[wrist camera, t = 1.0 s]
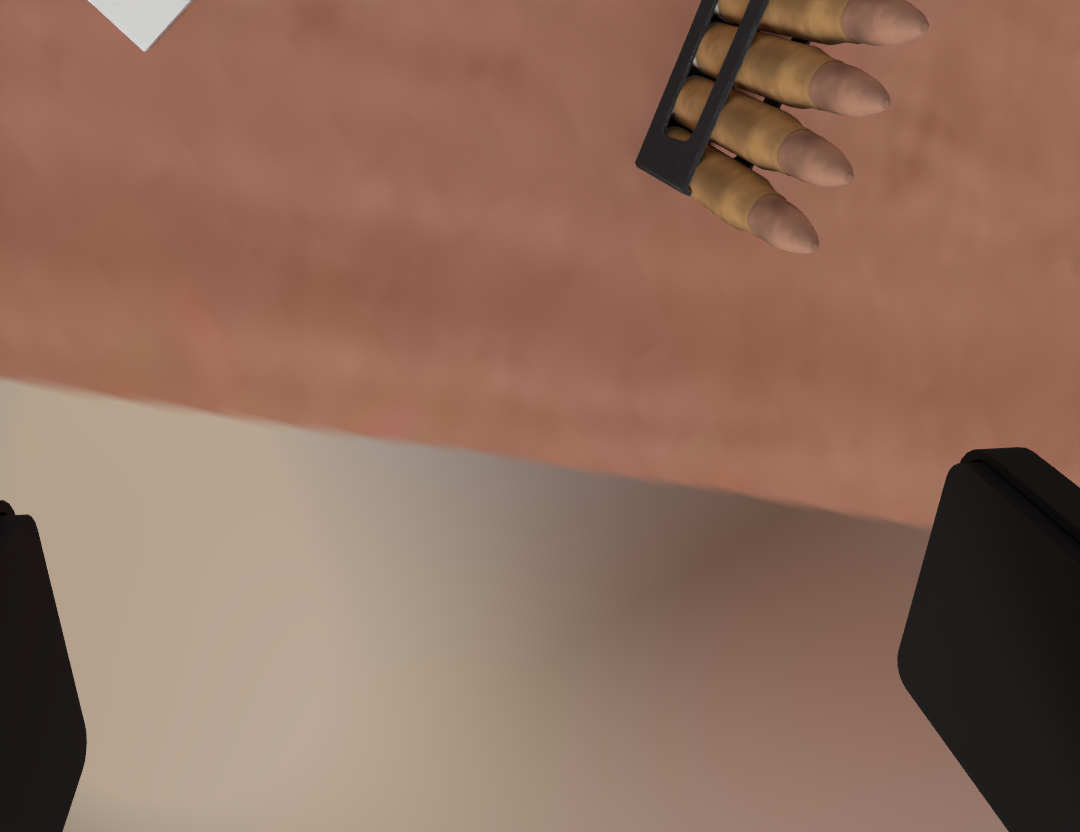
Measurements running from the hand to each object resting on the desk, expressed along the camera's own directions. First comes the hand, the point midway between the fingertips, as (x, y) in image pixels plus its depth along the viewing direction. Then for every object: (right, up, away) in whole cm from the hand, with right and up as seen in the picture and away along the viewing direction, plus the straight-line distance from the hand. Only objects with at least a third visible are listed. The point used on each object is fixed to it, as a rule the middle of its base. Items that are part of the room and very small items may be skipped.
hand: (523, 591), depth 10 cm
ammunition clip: (+6, +15, +22) cm, 28 cm away
